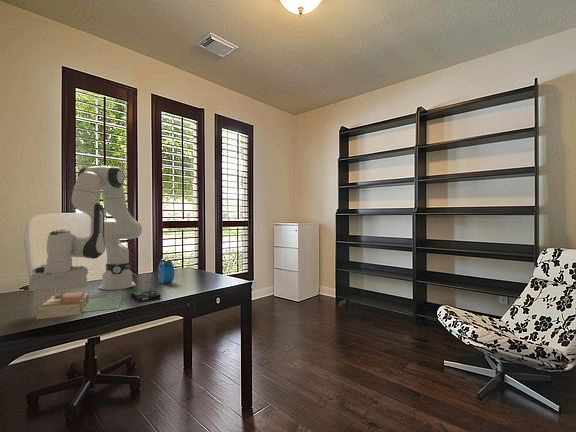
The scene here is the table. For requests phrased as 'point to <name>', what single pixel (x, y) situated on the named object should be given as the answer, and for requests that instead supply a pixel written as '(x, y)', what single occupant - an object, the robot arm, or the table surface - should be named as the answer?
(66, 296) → the orange flat block
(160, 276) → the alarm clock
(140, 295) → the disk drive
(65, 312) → the riser
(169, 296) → the table surface
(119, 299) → the mat
